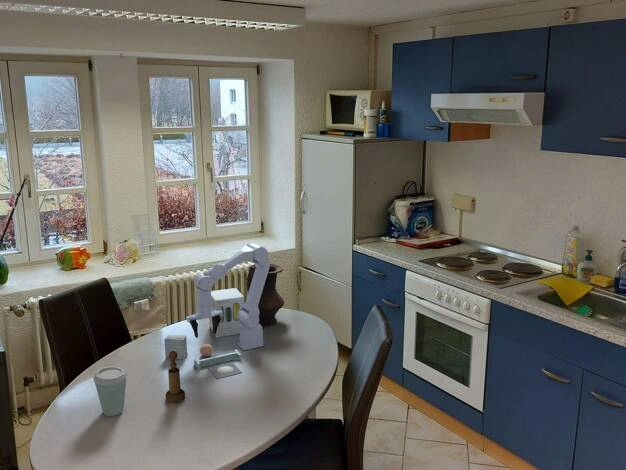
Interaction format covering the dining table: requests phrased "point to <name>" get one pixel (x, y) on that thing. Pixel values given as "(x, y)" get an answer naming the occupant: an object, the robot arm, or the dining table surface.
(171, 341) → the medicine box
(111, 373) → the disposable coffee cup
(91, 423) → the dining table surface
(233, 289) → the supplement box
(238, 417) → the dining table surface
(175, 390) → the brown wooden tall figure
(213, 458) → the dining table surface
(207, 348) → the ball
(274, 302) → the jug
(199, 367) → the divider wall
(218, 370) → the resting mat
